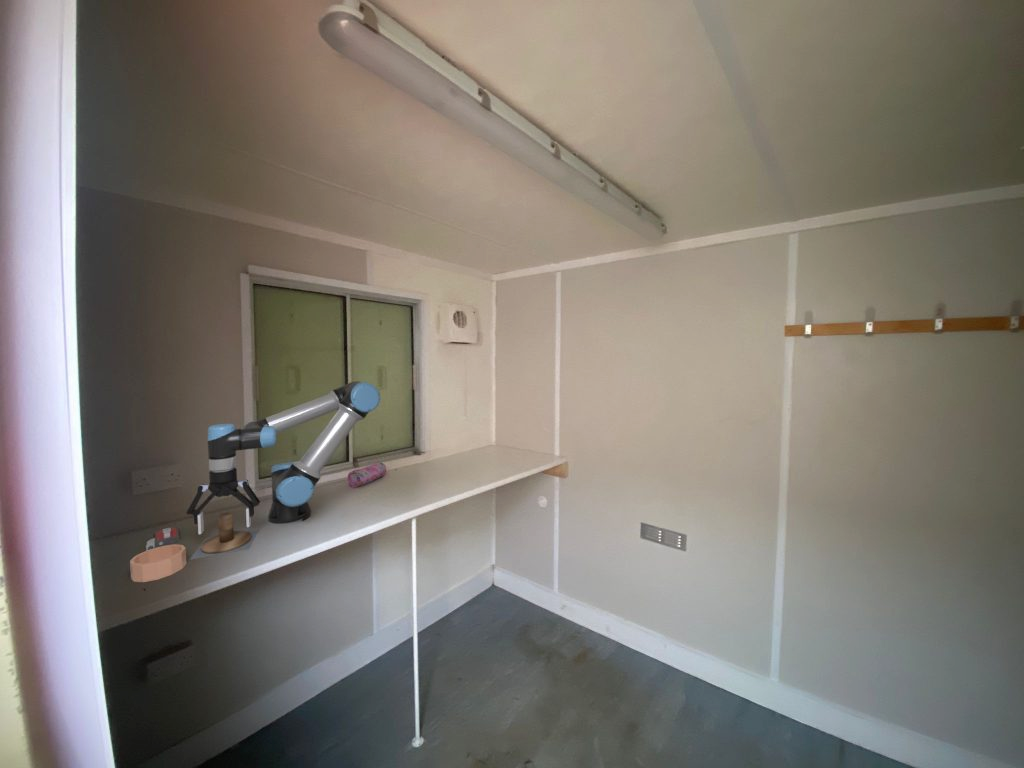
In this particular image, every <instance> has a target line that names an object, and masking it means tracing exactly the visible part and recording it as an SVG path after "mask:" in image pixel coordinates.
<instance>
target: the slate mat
mask: <svg viewBox="0 0 1024 768" xmlns="http://www.w3.org/2000/svg"><path fill="white" fill-rule="evenodd" d="M247 532H250V533H251V540H250V541H249V542H248V543H247V544H245V545H243V546H241V547H239V548H237V549H234V550H231V551H227V552H222V553H216V554H207V553H203V552H202V551H201V545H202V543H203V542H205V541H206V540H208V539H210V538H212V537H213V536H210V537H206V538H205V539H204V540H203V541H202V543H201V544H200V545H199V547H198V548H197V549H196V550H195V552H194V553H193V554H192V555H191V557H190V558H189V559H188V560H189V561H191V560H194V559H201V558H208V557H212V556H219V555H224V554H231V553H236V552H242V551H248V550H250V548H251V547H252V544H253V542H254V540H255V538H256V537H257V534H258V533H259V529H256V530H247Z"/></svg>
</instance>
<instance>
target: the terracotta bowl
mask: <svg viewBox="0 0 1024 768" xmlns="http://www.w3.org/2000/svg"><path fill="white" fill-rule="evenodd" d="M186 564H187V549H186V547H185V546H184V545H183V544H175V543H172V544H165V545H160V546H156V547H154V548H153V549H150V550H147V551H146V550H145V551H143V552H141V553H138V554H136V555H134V557H132V558H131V559H130V560H129V568H130V579H131V580H132V582H135V583H145V582H146V583H147V582H151V581H158V580H161V579H164V578H166V577H168V576H172V575H174V574H176V573H177V572H179V571H181V570H182V569H184V567H185V566H186Z"/></svg>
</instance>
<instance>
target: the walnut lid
mask: <svg viewBox="0 0 1024 768" xmlns="http://www.w3.org/2000/svg"><path fill="white" fill-rule="evenodd" d="M233 514H234V513H233V512H224V513H221V514H219V515H218V517H217V521H218V535H213V536H211V537H212V538H210V539H208V540H206V541H205V542H203V541H202V543H201V544H202V545H201V544H200V545H201V551H202V552H203V553H207V554H216V553H222V552H227V551H231V550H234V549H237V548H239V547H241V546H243V545H245V544H247V543H248V542H249V541H250V540H251V533H250V532H247V531H248V530H247V531H246V530H237V531H236V530H235V531H234V517H233Z"/></svg>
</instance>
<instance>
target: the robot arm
mask: <svg viewBox="0 0 1024 768" xmlns="http://www.w3.org/2000/svg"><path fill="white" fill-rule="evenodd" d="M380 402H381V394H380V391H379V389H378V388H377V387H376V386H375V385H374V384H373V383H370V382H366V381H363V382H362V381H357V380H356V381H352V382H349V383H346V384H345V385H341V386H339V387H337V388H334V389H332V390H330V391H329V394H326V395H323V396H320V397H318V398H314V399H312V400H309V401H307V402H304V403H301V404H299V405H297V406H294V407H292V408H288V409H285V410H283V411H280V412H277V413H275V414H273V415H269V416H267V417H265V418H261V419H259V420H256V421H255V420H254V421H253V420H252V421H250V422H247V423H246V424H245V425H244V426H243V428H237V427H236V426H235V424H233V423H219V424H218V423H217V424H213V425H210V426H209V427H208V428H207V451H208V470H209V472H208V474H209V475H208V476H209V477H208V478H209V480H208V481H209V484H204V483H202V484H200V485H199V486H198V487H197V493H196V494H195V496H194V498H193V500H192V502H191V504H190V506H189V507H188V509H187V511H186V515H192V516H193V522H194V524H195V525H197V527H198V529H197V530H198V531H197V532H198V535H201V534H203V532H204V531H205V528H204V527H205V526H204V512H203V509H204V508H205V507H206V506H207V505H208V504H209V503H210V501H212V499H213V498H215V496H216V497H218V498H221V497H229V496H233V497H234V498H236V499H237V500H238V501H239V502H241V503H242V504H244V505H245V506H246V509H245V513H246V515H245V518H246V528H249V527H251V525H252V518H253V517H254V515H255V507H257V506H259V504H260V503H261V501H260V500H259V498H258V496H257V495H256V494H255V492H254V491H253V489H252V488H251V486H250V484H249V480H248V479H244V480H243V481H242V480H241V481H238V476H237V475H238V474H237V473H238V470H237V468H236V467H237V451H244V450H245V451H246V450H254V449H255V450H257V449H266V448H271V447H274V446H276V443H277V434H279V433H282V432H285V431H287V430H290V429H292V428H294V427H297V426H300V425H302V424H304V423H308V422H311V421H313V420H315V419H317V418H320V417H323V416H325V415H327V414H331V413H332V412H335V411H336V413H335V414H333V417H332V418H331V420H329V422H328V424H326V426H325V427H324V429H322V431H321V432H320V434H319V435H318V436H317V438H316V439H315V440H314V441H313V443H312V444H311V446H310V447H309V448H308V449H307V450H306V452H305V453H304V454H303V456H302V457H301V459H300V460H298V461H287V462H281V463H275V464H274V465H272V466H271V469H270V474H271V492H272V493H271V495H272V498H271V499H272V502H271V503H272V504H271V505H270V506H271V507H270V509H269V513H268V517H267V521H268V522H269V523H271V524H277V525H278V524H279V525H282V524H289V523H295V522H298V521H301V522H303V521H305V520H307V519H309V518H310V516H311V514H312V509H311V506H310V504H309V500H310V499H311V498H312V496H313V495H314V491H315V487H316V485H317V483H318V482H319V481H320V480H321V477H322V476H321V471H322V470H323V469H324V467H325V466H326V464H328V462H329V460H331V458H332V456H333V455H334V454H335V452H336V451H337V450H338V448H339V447H340V446H341V444H342V443H343V442H344V440H345V439H346V438H347V436H348V435H349V434H350V432H351V431H352V429H354V427H355V426H356V424H357V422H359V421H361V420H364V419H366V417H367V415H368V414H369V413H370V412H372V411H374V410H375V409H376V408H377V407H379V405H380ZM238 486H239V487H241V488H242V489H243V490H244V492H245V493H246V495H247V496H248V497H249V498H248V497H247V496H246V495H244V494H243V493H242V492H240V490H239V489H238ZM207 490H209V491H210V492H211V493H210V494H209V496H207V498H206V499H205V500H203V502H202V503H201V504H200V506H199V507H198V508H197V509H196V507H197V505H198V503H199V502H200V500H201V497H203V493H204V492H206V491H207ZM201 511H202V512H201Z"/></svg>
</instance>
